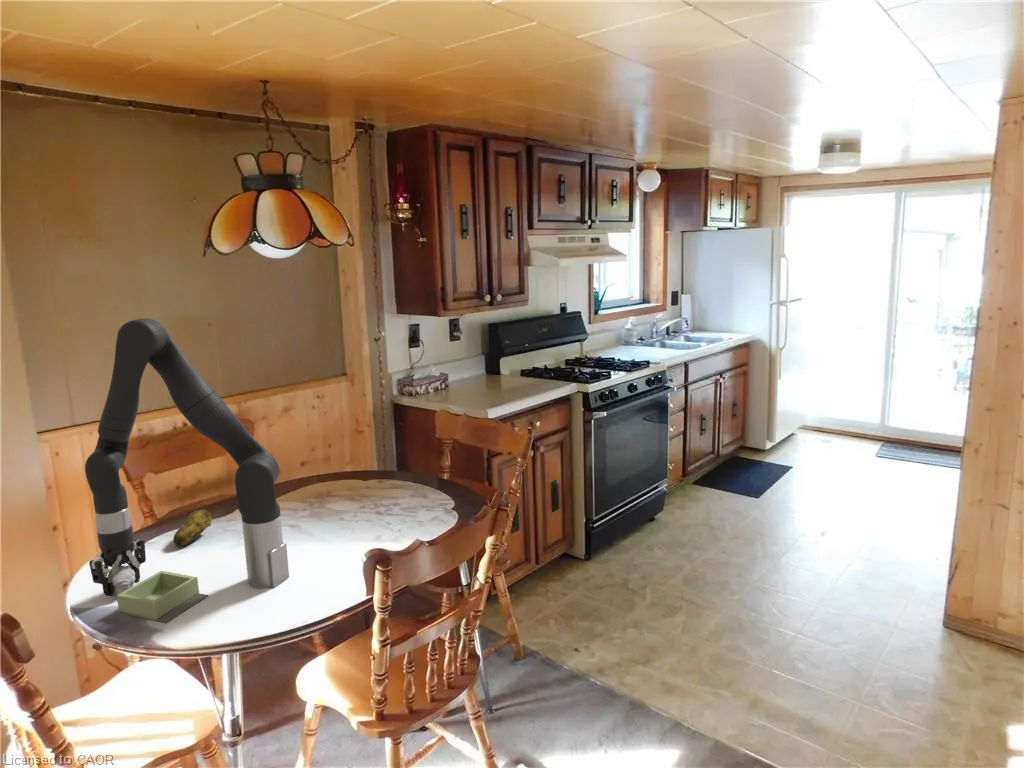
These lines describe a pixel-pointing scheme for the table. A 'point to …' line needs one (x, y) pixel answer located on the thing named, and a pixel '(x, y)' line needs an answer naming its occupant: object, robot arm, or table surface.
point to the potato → (192, 527)
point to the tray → (160, 597)
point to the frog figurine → (123, 579)
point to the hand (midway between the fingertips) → (122, 588)
